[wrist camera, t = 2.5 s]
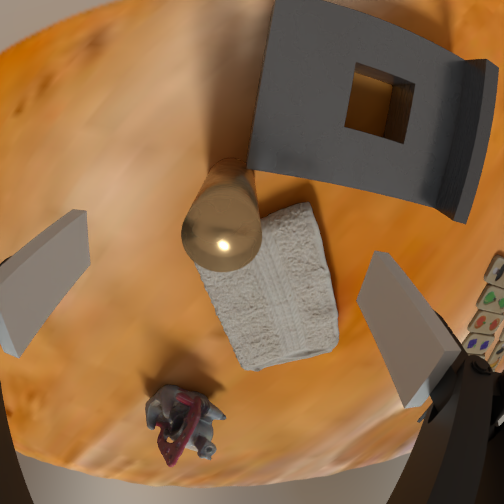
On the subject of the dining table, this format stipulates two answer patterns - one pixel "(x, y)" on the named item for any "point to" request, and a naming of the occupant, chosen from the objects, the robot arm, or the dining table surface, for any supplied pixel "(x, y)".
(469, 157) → the jig
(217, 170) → the tan cylinder
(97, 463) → the dining table surface
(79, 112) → the dining table surface
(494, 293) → the pile of dominoes
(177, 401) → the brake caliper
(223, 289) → the washcloth
